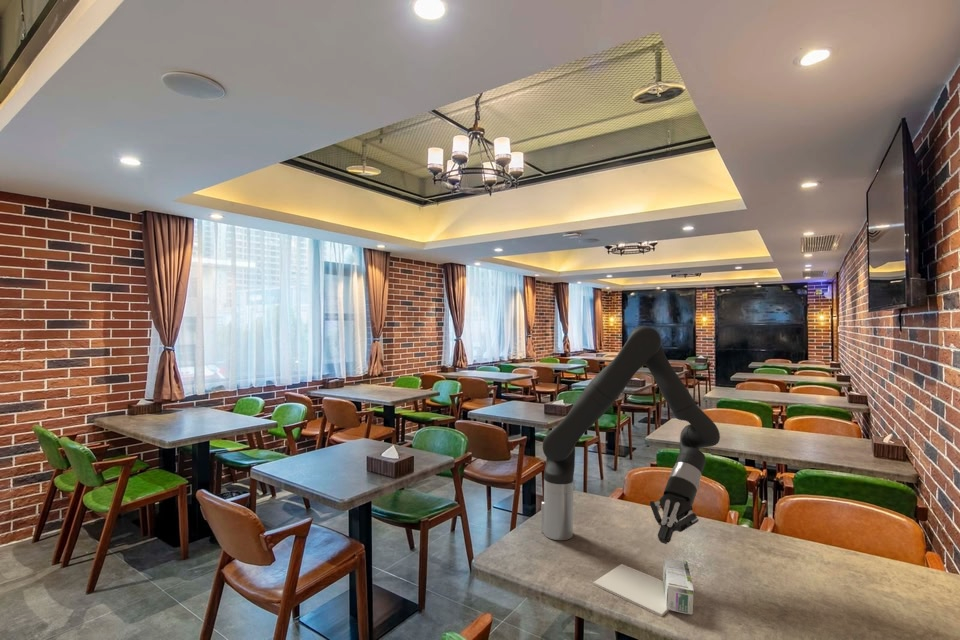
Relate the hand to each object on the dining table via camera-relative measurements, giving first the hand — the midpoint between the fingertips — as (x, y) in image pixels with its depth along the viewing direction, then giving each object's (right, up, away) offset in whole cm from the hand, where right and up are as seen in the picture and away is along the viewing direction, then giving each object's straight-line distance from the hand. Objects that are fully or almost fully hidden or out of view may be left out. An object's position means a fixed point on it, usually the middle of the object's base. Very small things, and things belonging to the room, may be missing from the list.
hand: (662, 541), depth 118 cm
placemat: (-7, -11, -2) cm, 13 cm away
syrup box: (+3, -8, +1) cm, 8 cm away
